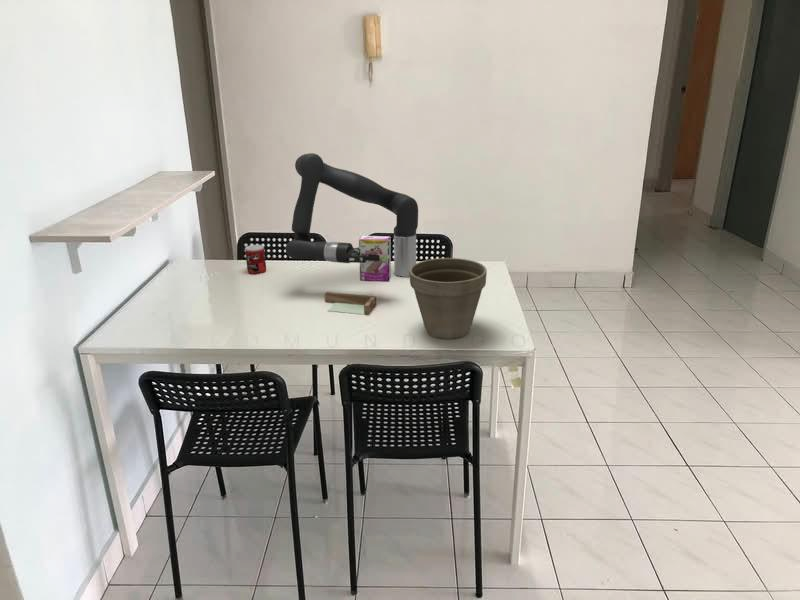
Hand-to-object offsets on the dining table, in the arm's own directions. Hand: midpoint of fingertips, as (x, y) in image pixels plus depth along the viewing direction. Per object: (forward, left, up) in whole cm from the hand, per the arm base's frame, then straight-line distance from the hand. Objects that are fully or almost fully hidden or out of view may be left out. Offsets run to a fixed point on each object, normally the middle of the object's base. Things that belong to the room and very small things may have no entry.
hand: (381, 255), depth 220 cm
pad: (+11, -9, -18) cm, 23 cm away
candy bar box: (0, -2, -10) cm, 10 cm away
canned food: (-19, -62, -18) cm, 68 cm away
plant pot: (+21, +29, -18) cm, 40 cm away
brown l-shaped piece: (+10, -11, -18) cm, 23 cm away
